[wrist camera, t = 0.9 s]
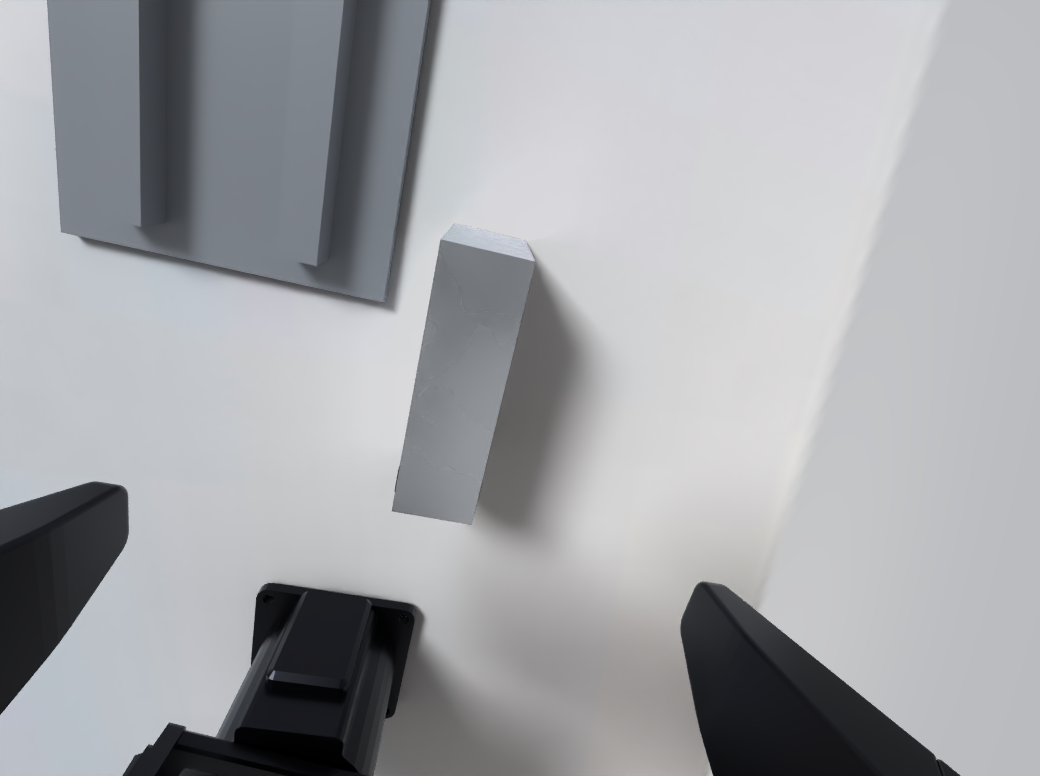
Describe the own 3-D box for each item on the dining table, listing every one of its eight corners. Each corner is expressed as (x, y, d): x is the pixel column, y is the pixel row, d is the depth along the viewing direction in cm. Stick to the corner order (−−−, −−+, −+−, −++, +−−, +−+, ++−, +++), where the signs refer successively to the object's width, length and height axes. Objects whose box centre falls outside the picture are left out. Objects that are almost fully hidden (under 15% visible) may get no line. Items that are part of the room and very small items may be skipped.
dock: (386, 299, 19) (375, 311, 17) (72, 230, 17) (27, 236, 16) (468, -244, 14) (464, -303, 12) (39, -395, 12) (-31, -482, 11)
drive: (478, 447, 21) (473, 525, 16) (413, 435, 21) (390, 510, 16) (526, 240, 18) (537, 262, 14) (453, 222, 18) (438, 239, 13)
